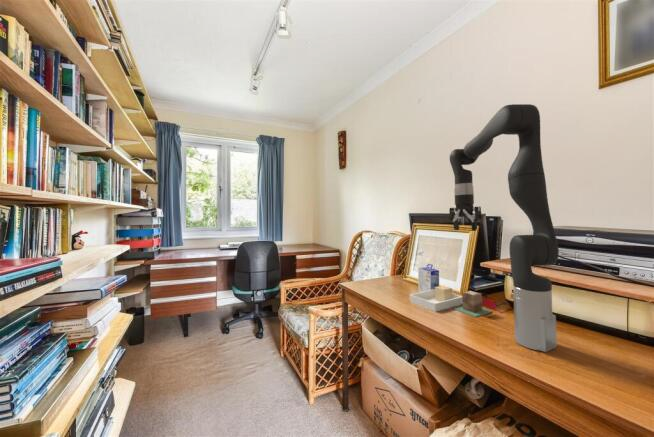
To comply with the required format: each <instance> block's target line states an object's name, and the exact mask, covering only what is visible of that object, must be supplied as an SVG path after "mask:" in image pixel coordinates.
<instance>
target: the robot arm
mask: <svg viewBox="0 0 654 437" xmlns="http://www.w3.org/2000/svg"><path fill="white" fill-rule="evenodd" d="M540 114H541V113H540V111H539V108H538V107H537V106H536V105H534V104H528V103H526V104H525V103H524V104H523V103H522V104H521V103H519V104H514V103H513V104H506V105H504V106H502V107H501V108H500V109H499V110H498V111H496V113H495V114H494V115H493V116H492V117H491V118H490V120H489V121H488V123H486V125H485V126H484V127H483V129H481V131H480V132H479V133H478V134H477V135H476V136H475V137H474V138H472V139H471V140H469V141H468V142H467V143H466V144H465V146H464V147H463V148H455V149H453V150H452V151H451V152H450V154H449V162H450V163H449V164H450V165H451V168H452V169H451V170H452V172H453V176H454V190H453V191H454V205H455V207H449V213H448V214H449V216H448V219H449V221H450V222H453V229H454V231H459V230H460V220H461V219H462V218H463V217H465V218H468V219H469V220H470V221H471V222H470V224H471V232H476V231H477V230H478V222H480V221H482V220H483V217H482V215H483V214H482V208H481V206H474V204H475V200H474V199H475V198H474V197H475V196H474V185H473V184H474V183H473V171H471V170H470V169H467V168H466V169H465V168H464V167H463V166H469V165H473V164H474V163H476V161H477V160H478V159H479V157H480V156H482V155H483V154H484V153H486V152H487V151H488V150H489V149H491V147H492V145H493V143H494V139H495V138H497V137H499V136H501V135H515V136H516V135H517V136H518V137H517V138H518V143H519V145H518V146H519V147H518V152H517V155H516V157H515V158H514V160H513V161H512V164H511V165H510V168H509V170H508V173H507V182H508V190H509V195H510V197H511V199H512V200H513V201H514V203H515V204H516V205H517V206H518V207H519V209H520V210H522V212H523V213H524V214H525V215H526V216H527V218H528V220H529V222H530V224H531V227H532V232H533V234H518V235H514V236H513V237H512V238H511V239H510V242H509V260H510V261H509V262H510V272H511V278H512V283H513V284H512V286H513V288H512V289H513V301H514V302H513V313H514V314H513V319H514V341H515V342H516V343H517V344H519V345H520V346H523V347H525V348H528V349H531V350H535V351H541V352H543V353H548V352H550V351H552V350H554V349H556V348H557V346H558V344H557V340H558V339H557V316H556V314H553V286H552V285H553V284H552V281H551V279H549V278H548V277H545V276H542V275H538V274H536V273H534V272H533V270H532V266H551V265H554V264H555V263H556V262H557V261H558V259H559V254H560V253H559V252H560V251H559V244H558V239H557V236H556V232H555V229H554V225H553V221H552V216H551V212H550V205H549V200H548V192H547V190H548V189H547V181H546V175H545V169H544V164H543V156H542V146H541V115H540Z"/></svg>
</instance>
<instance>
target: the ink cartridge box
mask: <svg viewBox="0 0 654 437" xmlns="http://www.w3.org/2000/svg"><path fill="white" fill-rule="evenodd" d="M433 266H434V265H433V264H431V263H427V265H426V266H423V267H419V268H418V269H417V272H418V274H417V275H418V278H417V280H418V281H417V282H418V283H417V284H418V292H423V291H428V290H432V289H435V287H438V286H440V270H438V269H434V268H433Z"/></svg>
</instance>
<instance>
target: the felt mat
mask: <svg viewBox="0 0 654 437" xmlns="http://www.w3.org/2000/svg"><path fill="white" fill-rule="evenodd" d="M452 310H454V311H458V312H460V313H463V314H465V315H468V316H471V317H474V318H477V317H481V316H484V315H488V314H490V313H493V311H492V310H491V309H488V308H487V309H486V308H483V307H482V311H479V312H476V313H473V312H470V311H467V310H464V309H463V305H458V306H455V307H454V308H453V307H452Z"/></svg>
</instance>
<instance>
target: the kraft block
mask: <svg viewBox="0 0 654 437" xmlns="http://www.w3.org/2000/svg"><path fill="white" fill-rule="evenodd" d="M452 294H453V288H452V287H449V286H445V285H439V286H438V287H435V300H436V301H439V302H442V301H446V300H449V299H452Z"/></svg>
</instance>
